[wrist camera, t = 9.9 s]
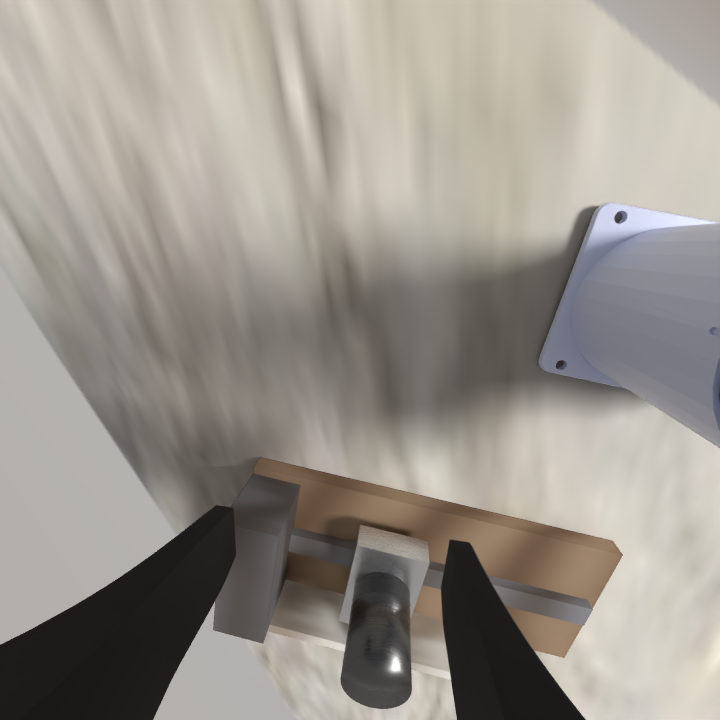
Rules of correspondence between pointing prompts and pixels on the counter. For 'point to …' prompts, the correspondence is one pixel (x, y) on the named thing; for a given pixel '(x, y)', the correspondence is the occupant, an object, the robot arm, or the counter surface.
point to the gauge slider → (381, 616)
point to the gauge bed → (406, 517)
